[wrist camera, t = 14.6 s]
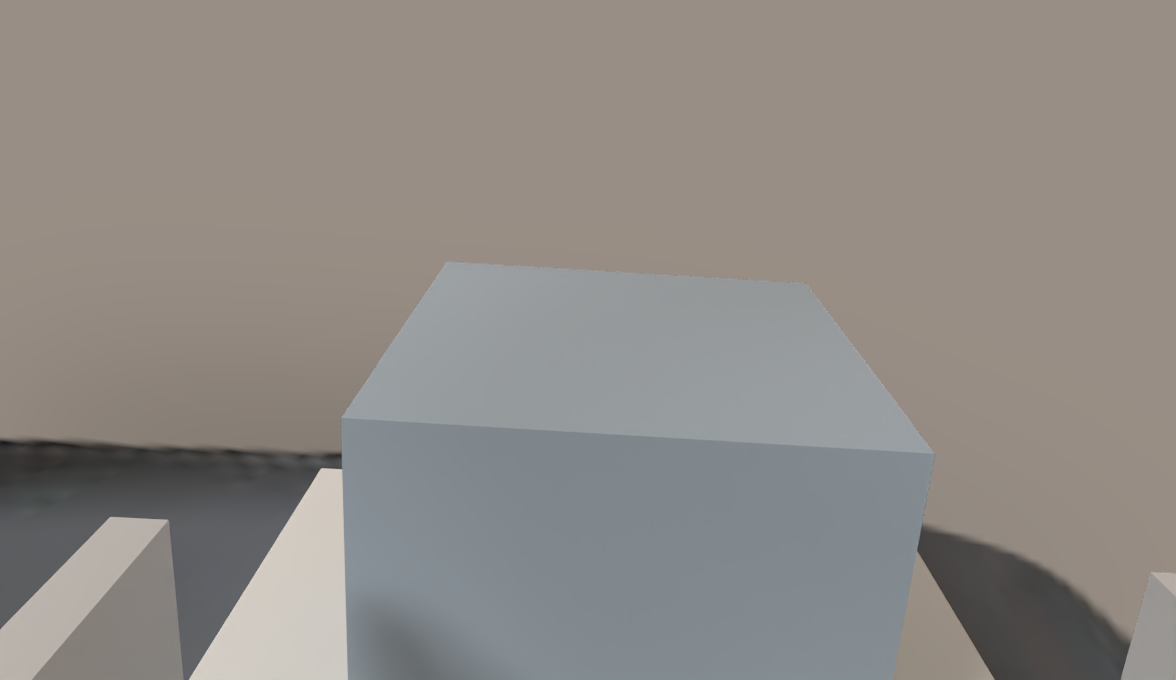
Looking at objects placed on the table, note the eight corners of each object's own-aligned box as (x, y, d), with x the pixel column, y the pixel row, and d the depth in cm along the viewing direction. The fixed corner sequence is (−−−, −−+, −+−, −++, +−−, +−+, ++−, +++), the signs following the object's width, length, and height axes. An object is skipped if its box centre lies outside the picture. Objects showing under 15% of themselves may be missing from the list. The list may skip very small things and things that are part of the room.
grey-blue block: (443, 619, 27) (447, 261, 24) (758, 638, 27) (805, 282, 24) (355, 938, 18) (340, 418, 14) (838, 968, 18) (934, 454, 14)
